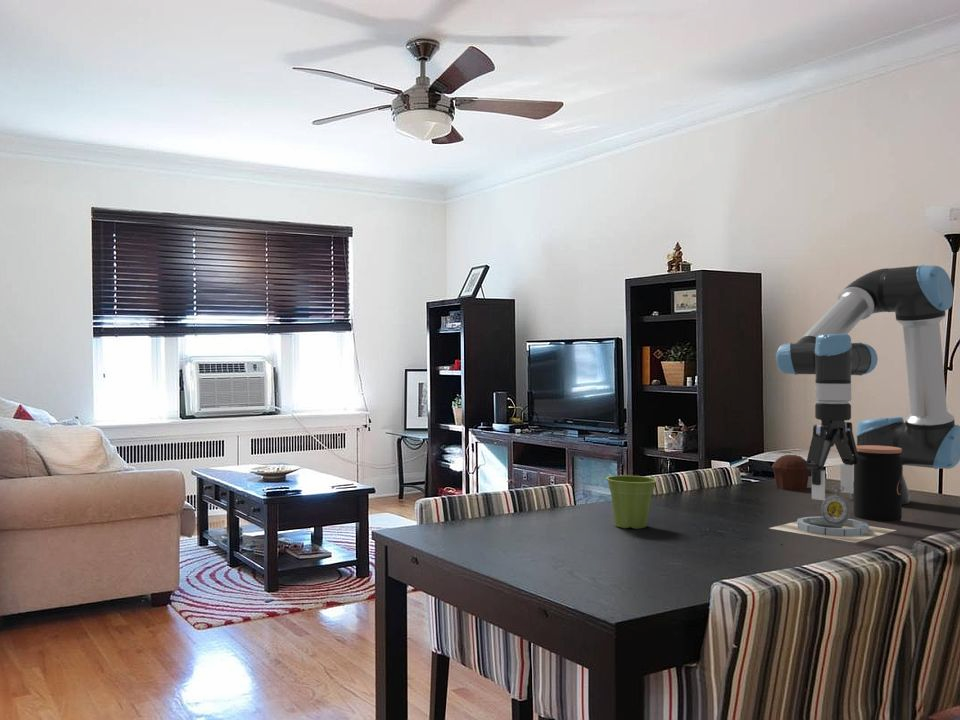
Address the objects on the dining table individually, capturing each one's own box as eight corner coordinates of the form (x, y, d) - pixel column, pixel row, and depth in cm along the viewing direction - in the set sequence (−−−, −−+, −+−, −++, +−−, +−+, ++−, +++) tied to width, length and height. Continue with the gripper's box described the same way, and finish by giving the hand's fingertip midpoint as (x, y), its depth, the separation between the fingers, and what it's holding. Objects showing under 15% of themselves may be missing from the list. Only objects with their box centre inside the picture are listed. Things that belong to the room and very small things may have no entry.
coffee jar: (907, 526, 204) (907, 450, 204) (859, 524, 206) (859, 449, 206) (894, 518, 214) (895, 445, 214) (849, 516, 217) (849, 444, 216)
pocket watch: (812, 524, 190) (817, 479, 192) (807, 524, 198) (812, 481, 200) (852, 531, 188) (856, 485, 190) (845, 530, 196) (850, 487, 198)
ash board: (812, 521, 209) (812, 517, 209) (896, 534, 194) (896, 530, 194) (768, 532, 196) (768, 528, 196) (855, 547, 181) (855, 542, 181)
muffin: (805, 492, 255) (805, 458, 255) (767, 489, 262) (767, 456, 262) (814, 487, 265) (814, 454, 265) (777, 484, 271) (777, 452, 271)
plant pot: (645, 533, 194) (646, 483, 194) (597, 527, 201) (597, 479, 201) (664, 525, 204) (664, 477, 204) (617, 519, 211) (617, 473, 211)
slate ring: (817, 520, 205) (817, 514, 205) (879, 529, 194) (879, 523, 194) (785, 528, 196) (785, 521, 196) (849, 538, 185) (849, 531, 185)
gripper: (842, 399, 206) (842, 488, 206) (789, 403, 189) (789, 500, 190) (874, 400, 200) (874, 491, 201) (822, 405, 184) (822, 504, 184)
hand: (832, 496), depth 195 cm, fingers open, 13 cm apart
